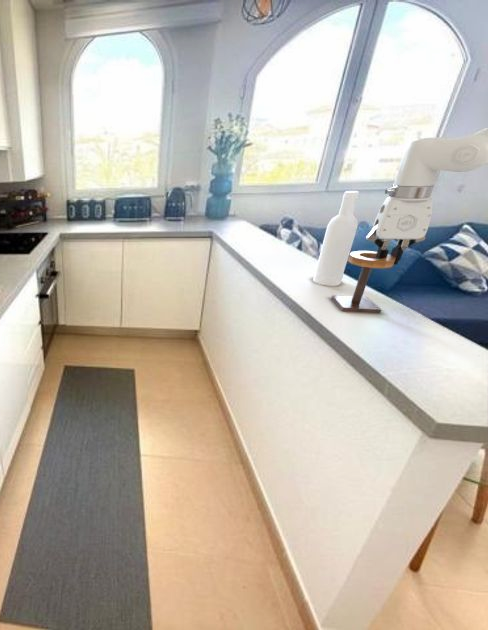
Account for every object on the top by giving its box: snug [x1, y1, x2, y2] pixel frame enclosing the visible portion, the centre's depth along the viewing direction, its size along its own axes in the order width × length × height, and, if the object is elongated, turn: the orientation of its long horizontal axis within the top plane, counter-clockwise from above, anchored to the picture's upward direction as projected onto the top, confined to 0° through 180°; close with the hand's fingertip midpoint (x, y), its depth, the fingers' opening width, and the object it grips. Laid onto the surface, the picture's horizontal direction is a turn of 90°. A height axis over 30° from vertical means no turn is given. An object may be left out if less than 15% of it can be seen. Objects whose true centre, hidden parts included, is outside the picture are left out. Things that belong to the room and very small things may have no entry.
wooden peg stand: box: [330, 266, 382, 315], centre depth 98 cm, size 9×9×14 cm
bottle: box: [312, 190, 360, 287], centre depth 112 cm, size 8×8×30 cm
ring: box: [347, 250, 396, 269], centre depth 95 cm, size 10×10×2 cm
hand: (386, 262), depth 94 cm, fingers closed on ring, 2 cm apart
